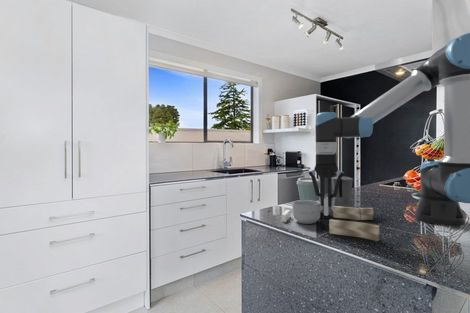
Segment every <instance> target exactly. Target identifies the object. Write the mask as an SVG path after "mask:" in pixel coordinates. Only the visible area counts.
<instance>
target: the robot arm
mask: <svg viewBox="0 0 470 313" xmlns="http://www.w3.org/2000/svg"><path fill="white" fill-rule="evenodd" d="M439 85H442V87H443V88H444V96H443V97H444V98H443V99H444V101H443V104H444V106H443V108H444V113H443V114H444V119H443V120H444V121H443V126H444V127H443V135H444V136H443V139H444V140H443V156H442V158H440V159H439V160H434V161H433V160H432V161H424V162H422V163H421V165H420V170H419V173H420V186H419V187H420V192H419V193H420V197H419V201H418V204H417V206H416V207H415V208H416V209H415V210H414V218H415V219H417V220H419V221H421V222H425V223H428V224H433V225H440V226H449V227H450V226H452V227H453V226H455V227H456V226H463V225H465V215H464V212H463V211H462V207H461V205H460V203H461V204H470V32H467V33H464V34H461V35H460V36H458V37H454V38H453V39H451V41H449V42H448V43H446V45H445V46H443V47H442V48H440V49H438V50H436V52H434V53H433V54H432V55H431V56H429V58H428V59H427V60H425V61H424V62H423V63H422V64H420V66H418V67H417V68H415V69H414V70H412V71H411V74H410V76H408V77H407V78H405V79H404V80H402V81H401V82H399V83H398V84H397V85H395V86H393V87H392V88H391V89H389V90H388V91H386V92H385V93H383V94H382V95H380V96H378V97H377V98H376V99H374V100H373V101H371V102H370V103H369V104H367V105H366V106H364V107H362V109H360V110H359V111H357V112H355V113H354V114H352V115H351V116H349V117H348V116H346V117H338V116H337V113H336V112H334V111H332V112H331V111H325V112H324V111H323V112H319V113H317V114H316V116H315V127H314V128H315V153H316V155H315V166H314V167H313V169H312V170H310V171H309V172H308V174H309V177H311V178H312V182H313V186H314V189H315V193H316V196H319V197H318V198H320V201H321V206H323V216H326V217H329V207H330V208H331V207H332V202H333V197H336V195H337V191H338V188H339V184H340V180H341V178H342V176H345V172H344V171H341V170H340V169H339V167H338V165H337V164H338V163H337V156H338V155H337V154H336V153H337V150H338V149H337V142H338V141H337V140H338V139H337V138H344V139H353V138H367V137H370V136H372V134H373V131H374V129H373V128H374V124H375V123H377V122H378V121H379V120H381V119H383V118H385V117H386V116H387V115H389V114H391V113H392V112H394V111H396V109H398V108H400V107H401V106H403V105H404V104H406V103H408V102H409V101H410V100H412V99H414V98H415V97H416V96H418V95H419V94H421V93H422V92H424V91H425V92H428V91H430V90H432V89H434V88H435V87H438V86H439ZM316 174H317V175H318V176H319V178H320V183H321V184H320V189H319V188H318V184H317V181H316V179H317V178H316ZM334 175H337V176H338V178H337V182H336V185H335V189H334V192H333V188H332V177H335V176H334ZM337 176H336V177H337ZM325 179H327V197H326V195H325V191H326V190H325V187H326V185H325V181H326V180H325ZM332 192H333V193H332Z"/></svg>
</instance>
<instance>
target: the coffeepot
mask: <svg viewBox="0 0 470 313" xmlns="http://www.w3.org/2000/svg"><path fill="white" fill-rule="evenodd" d="M337 178H338V176H333V177H332V192H333V193H334V189H335V185H336V182H337ZM353 183H354V178H353V177H349V176H345V175H343V176H342V178H341V180H340V184H339V188H338V191H337V195H336V197H333V198H332V205H331V207H330V209H331V211H332V212H333V206H341V207H353V203H352V202H353V201H352V197H351V194H352V188H353Z"/></svg>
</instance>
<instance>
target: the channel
mask: <svg viewBox="0 0 470 313" xmlns="http://www.w3.org/2000/svg"><path fill="white" fill-rule="evenodd" d="M332 218H337V219H331V218H330V219H329V222H328V223H329V224H328V228H329V229H328V230H329V234H330V235H339V236H347V237H354V238H355V237H356V238H361V239H366V240H371V241H375V242H379V240H380V225H376V224H372V223H367V222H362V221H367V220H368V221H370V220H371V221H372V220H374V208H372V207H354V206H352V207H341V206H333V211H332ZM340 219H342V220H340ZM343 219H345V220H343ZM346 219H347V220H346ZM351 220H354V221H351ZM355 220H356V221H355ZM358 220H359V221H358Z"/></svg>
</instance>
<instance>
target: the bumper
mask: <svg viewBox="0 0 470 313" xmlns="http://www.w3.org/2000/svg"><path fill="white" fill-rule="evenodd" d="M290 218H291V209H286V210H285V211H284V212H282V213H281V222H282V223H287V222H288V220H289V219H290Z"/></svg>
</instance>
